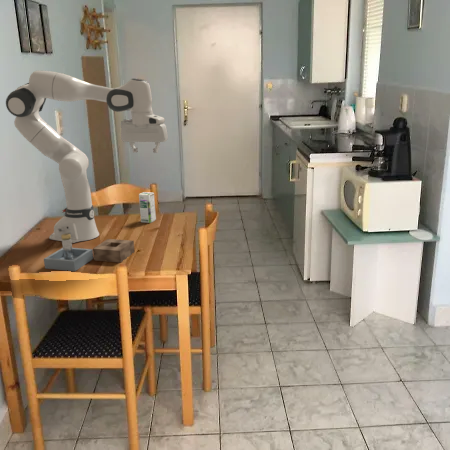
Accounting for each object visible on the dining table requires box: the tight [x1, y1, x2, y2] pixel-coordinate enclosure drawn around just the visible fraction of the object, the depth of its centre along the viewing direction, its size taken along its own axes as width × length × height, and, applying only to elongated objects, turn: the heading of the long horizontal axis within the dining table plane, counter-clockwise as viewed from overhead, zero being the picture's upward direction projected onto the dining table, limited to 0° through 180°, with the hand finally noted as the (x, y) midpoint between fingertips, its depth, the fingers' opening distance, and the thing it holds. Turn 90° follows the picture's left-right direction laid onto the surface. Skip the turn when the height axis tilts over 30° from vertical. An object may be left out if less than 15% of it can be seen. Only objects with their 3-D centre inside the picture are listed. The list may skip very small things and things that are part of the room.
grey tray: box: [43, 247, 94, 272], centre depth 195 cm, size 13×13×4 cm
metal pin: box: [61, 233, 74, 260], centre depth 194 cm, size 4×4×11 cm
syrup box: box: [138, 191, 157, 224], centre depth 245 cm, size 6×6×14 cm
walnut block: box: [92, 238, 135, 263], centre depth 201 cm, size 12×12×5 cm
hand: (145, 152), depth 208 cm, fingers open, 8 cm apart
